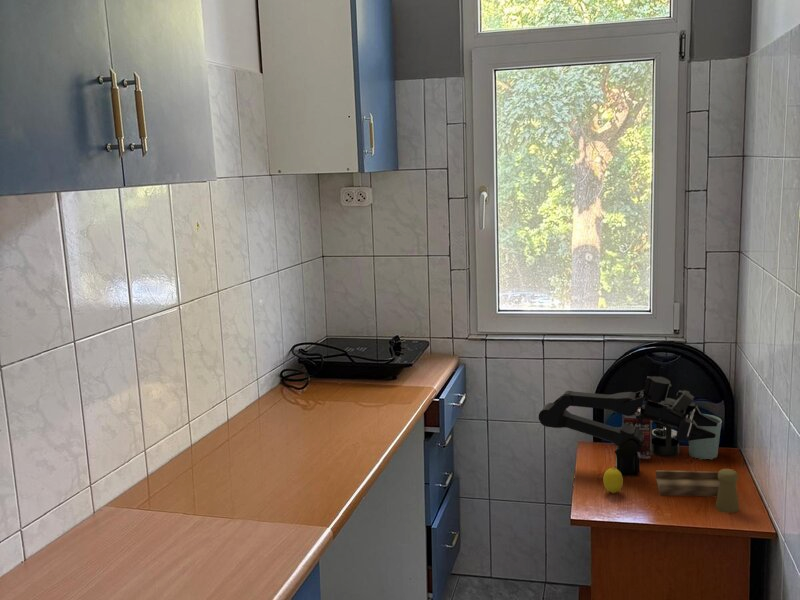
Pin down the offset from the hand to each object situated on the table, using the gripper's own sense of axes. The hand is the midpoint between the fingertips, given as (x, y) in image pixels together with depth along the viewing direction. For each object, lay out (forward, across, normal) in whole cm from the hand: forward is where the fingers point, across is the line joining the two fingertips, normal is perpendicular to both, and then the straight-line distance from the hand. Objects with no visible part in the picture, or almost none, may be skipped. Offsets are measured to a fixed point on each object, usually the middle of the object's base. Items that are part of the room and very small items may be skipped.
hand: (716, 430), depth 231 cm
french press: (-12, +20, +20) cm, 31 cm away
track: (-2, -6, +17) cm, 18 cm away
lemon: (-22, -16, +22) cm, 35 cm away
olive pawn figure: (+8, -16, +15) cm, 23 cm away
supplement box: (-20, +14, +22) cm, 32 cm away
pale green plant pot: (0, +20, +17) cm, 26 cm away
